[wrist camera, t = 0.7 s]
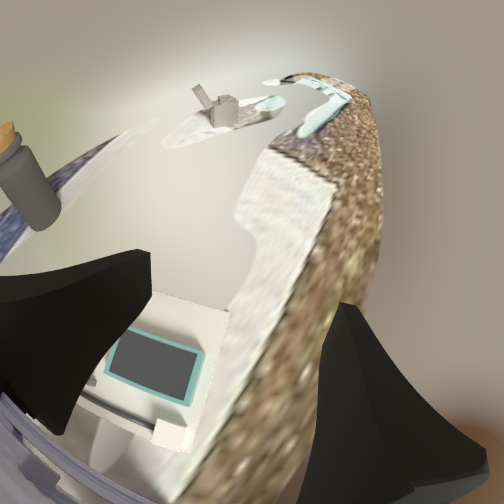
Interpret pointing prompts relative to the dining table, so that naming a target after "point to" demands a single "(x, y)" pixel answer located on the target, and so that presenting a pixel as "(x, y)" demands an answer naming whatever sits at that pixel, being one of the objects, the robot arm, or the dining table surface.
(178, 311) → the board
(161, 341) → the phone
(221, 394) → the dining table surface
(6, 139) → the bottle
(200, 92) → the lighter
